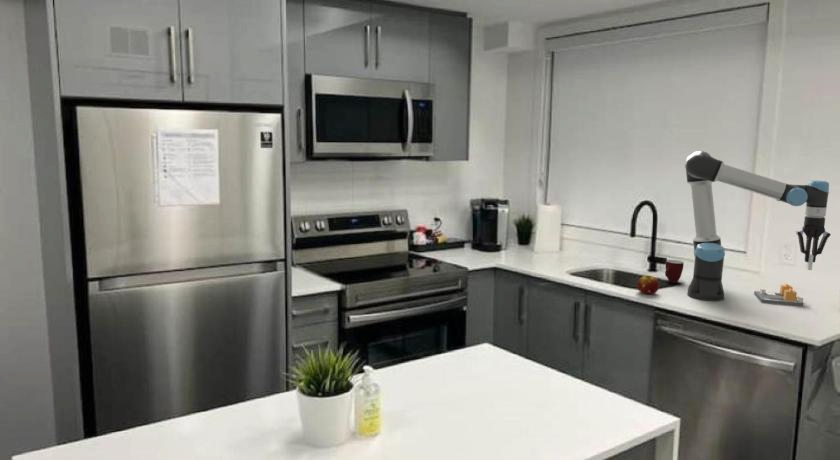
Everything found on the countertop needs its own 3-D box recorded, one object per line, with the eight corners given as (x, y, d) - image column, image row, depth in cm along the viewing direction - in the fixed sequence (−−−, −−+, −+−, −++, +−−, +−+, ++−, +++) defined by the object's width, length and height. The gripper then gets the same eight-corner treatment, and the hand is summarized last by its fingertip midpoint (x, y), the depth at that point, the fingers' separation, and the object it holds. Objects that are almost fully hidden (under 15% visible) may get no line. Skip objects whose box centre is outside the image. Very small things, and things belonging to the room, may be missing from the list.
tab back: (781, 295, 270) (782, 284, 269) (779, 293, 273) (780, 283, 272) (791, 295, 269) (792, 285, 268) (789, 294, 272) (790, 283, 271)
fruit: (649, 297, 270) (650, 280, 268) (632, 292, 277) (633, 275, 276) (662, 294, 275) (663, 277, 273) (645, 289, 282) (646, 272, 281)
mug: (675, 285, 290) (677, 265, 289) (658, 281, 296) (660, 262, 294) (684, 281, 297) (686, 261, 296) (668, 278, 303) (670, 259, 301)
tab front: (785, 300, 262) (786, 289, 261) (783, 298, 264) (784, 287, 264) (795, 301, 260) (797, 290, 260) (793, 299, 263) (794, 288, 262)
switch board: (761, 302, 264) (762, 295, 263) (754, 294, 277) (754, 286, 276) (803, 306, 259) (804, 298, 258) (793, 297, 272) (794, 290, 272)
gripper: (800, 216, 261) (794, 270, 265) (835, 218, 257) (828, 272, 261) (795, 214, 268) (789, 266, 272) (829, 215, 264) (822, 268, 268)
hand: (808, 269), depth 266 cm, fingers closed
